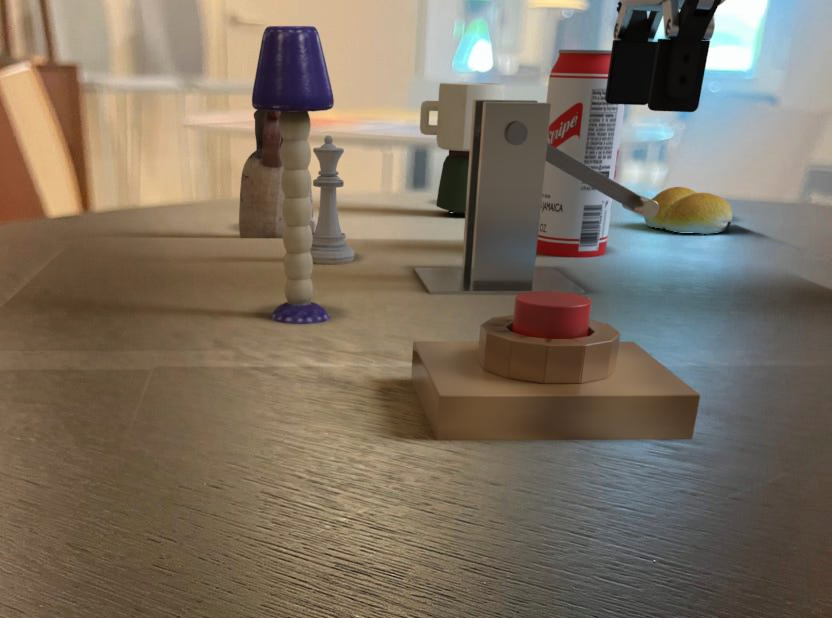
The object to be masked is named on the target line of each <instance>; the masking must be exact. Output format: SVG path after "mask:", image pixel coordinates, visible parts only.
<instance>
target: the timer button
mask: <svg viewBox="0 0 832 618" xmlns="http://www.w3.org/2000/svg"><path fill="white" fill-rule="evenodd" d="M591 308H592V300H591V298H589V297H587V296H585V295H578V294H573V293H566V292H556V291H534V292H525V293H521V294H519V295H516V296H515V298H514V306H513V315H514V316H513V326H512V332H514V333H517V334H520V335H524V336H528V337H536V338H544V339H575V338H581V337H587V333H588V325H589V319H591V318H590V317H591V310H592V309H591Z"/></svg>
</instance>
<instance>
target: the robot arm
mask: <svg viewBox="0 0 832 618" xmlns="http://www.w3.org/2000/svg"><path fill="white" fill-rule="evenodd" d="M726 1H727V0H619V1H618V2H617V5H618V6H617V7H616V12H617V14H618V15H617V17H616V21H615V24H614V27H613V32H612V33H613V40H612V44H611V50H612V51H611V58H610V65H609V72H608V80H607V87H606V94H605V101H606V102H607V103H609V104H625V106H627V105H630V106H646V105H647V108H648V109H649V110H650V111H653V112H672V113H674V112H675V113H694V112H696V111H697V110H698V109H699V105H700V99H701V96H702V95H701V94H702V88H703V82H704V77H705V71H706V66H707V61H708V56H709V55H708V54H709V49H710V46H711V45H710V44H711V39H712V37H713V36H714V33H715V29H716V27H715V26H716V19H715V13H716V11H717V10H718V7H719V6H721V5H723V4H724V3H725V2H726ZM648 12H649V14H648ZM662 19H663V20H662ZM662 21H663V29H664V30H663V31H664V37H665V38H657V41H654V40H655V37H656V35H657V32H658V29H659V27H660V24H661V22H662Z"/></svg>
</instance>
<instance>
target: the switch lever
mask: <svg viewBox="0 0 832 618" xmlns="http://www.w3.org/2000/svg"><path fill="white" fill-rule="evenodd" d="M480 138H481V136H480ZM546 162H548V163H550V164H551V165H553V166H555V167H557V168H559V169H560V170H562V171H564V172H566V173H567V174H569V175H571V176H573V177H575V178H576V179H578V180H580V181H582V182H583V183H585V184H587V185H589V186H591V187H592V188H594V189H596V190H598V191H599V192H601V193H603V194H605V195H607V196H608V197H610V198H612V200H614V201H615V202H617V203H619V204H621V206H622V208H623V209H624V210H627V211H629V212H632V213H634V214H635V215H638V216H640V217H643V218H644V217H645V218H648V219H650V218H653V217H655V216H656V215H657V213H658V211H659V205H658V203H657V202H656V201H654V200H652V198H649V197H646V196H643V195H641V194H638V193H636V192H635V191H632V190H631V189H629V188H627V187H626V186H624V185H622V184H620V183H618V182H617V181H616V180H615V181H613V180H611V179H610V178H608V177H606V176H604V175H603V174H601V173H599V172H597V171H596V170H594V169H592V168H590V167H589V166H587V165H585V164H583V163H582V162H580V161H578V160H576V159H575V158H573V157H571V156H569V155H568V154H566V153H564V152H562V151H561V150H559V149H557V148H555V147H554V146H552V145H550V144H548V143H547V151H546Z"/></svg>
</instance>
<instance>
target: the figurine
mask: <svg viewBox="0 0 832 618" xmlns="http://www.w3.org/2000/svg"><path fill="white" fill-rule="evenodd" d="M280 113H281V111H263V110H257V109H255V111H254V113H253V119H254V137H255V145H256V147H255V150H254V152H252V153H251V154H249V156H248V157H247V159H246V161H245V162H244V164H243V167H242V172H241V176H240V179H241V180H240V187H239V188H240V191H239V211H238V228H239V229H238V230H239V237H240V239H281V240H283V231H284V228H285V225H286V223H285V221H284V219H283V215H282V205H283V201H284V198H285V195H284V193H283V190H282V184H281V179H282V173H283V171H284V167H283V165H282V162H281V157H280V149H281V144H282V142H283V138H282V136H281V133H280V129H279V118H280ZM312 191H313V190H312V189H311V191H310V194H309V198H310V200H311V204H312V218H311V221H310V223H309V225H310V227H311V230H312V233H314V232H315V230H316V226H317V223H316V219H315V212H314V211H315V210H314V207H313V206H314V204H313V202H314V201H313V192H312Z"/></svg>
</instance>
